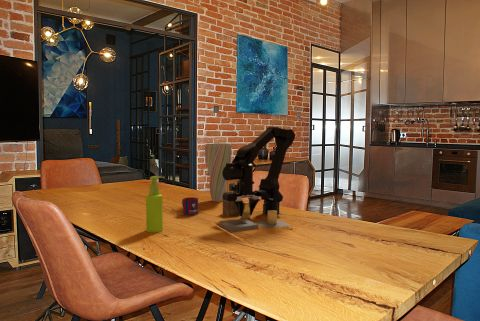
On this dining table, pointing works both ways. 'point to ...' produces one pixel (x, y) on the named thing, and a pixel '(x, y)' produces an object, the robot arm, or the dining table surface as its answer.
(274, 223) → the board
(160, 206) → the soap dispenser
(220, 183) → the vase
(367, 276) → the dining table surface
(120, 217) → the dining table surface
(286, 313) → the dining table surface
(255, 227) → the socket board
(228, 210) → the box
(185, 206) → the mug
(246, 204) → the pin
